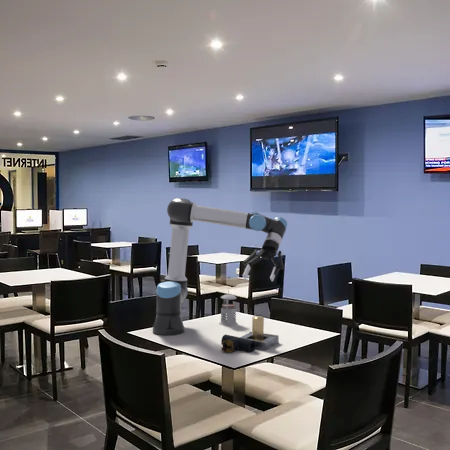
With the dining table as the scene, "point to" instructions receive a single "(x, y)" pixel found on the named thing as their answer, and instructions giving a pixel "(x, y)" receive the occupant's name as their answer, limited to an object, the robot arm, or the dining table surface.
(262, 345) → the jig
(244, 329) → the dining table surface
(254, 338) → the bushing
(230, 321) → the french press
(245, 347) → the pipe connector
